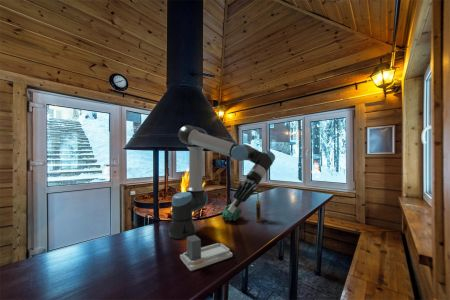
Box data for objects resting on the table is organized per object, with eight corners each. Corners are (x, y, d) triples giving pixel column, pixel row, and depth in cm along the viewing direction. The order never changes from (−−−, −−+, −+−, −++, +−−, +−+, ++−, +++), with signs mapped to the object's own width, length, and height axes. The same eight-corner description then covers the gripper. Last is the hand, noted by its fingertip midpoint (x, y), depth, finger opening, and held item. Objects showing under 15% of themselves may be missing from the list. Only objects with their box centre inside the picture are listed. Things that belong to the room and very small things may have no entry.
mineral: (216, 217, 146) (216, 203, 147) (236, 215, 151) (236, 202, 151) (224, 225, 129) (223, 209, 129) (246, 222, 133) (246, 207, 134)
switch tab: (195, 253, 88) (195, 234, 88) (201, 258, 83) (200, 239, 83) (186, 255, 86) (186, 236, 86) (192, 261, 81) (191, 241, 81)
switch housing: (218, 246, 98) (218, 241, 98) (232, 256, 88) (232, 250, 88) (180, 258, 87) (180, 252, 87) (190, 271, 77) (190, 264, 77)
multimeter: (271, 225, 127) (270, 194, 128) (256, 224, 129) (255, 193, 130) (271, 218, 141) (270, 190, 142) (257, 217, 143) (256, 190, 144)
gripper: (268, 180, 100) (242, 219, 91) (252, 178, 111) (227, 212, 102) (260, 170, 97) (233, 209, 88) (244, 169, 109) (218, 203, 99)
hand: (230, 211), depth 95 cm, fingers closed
